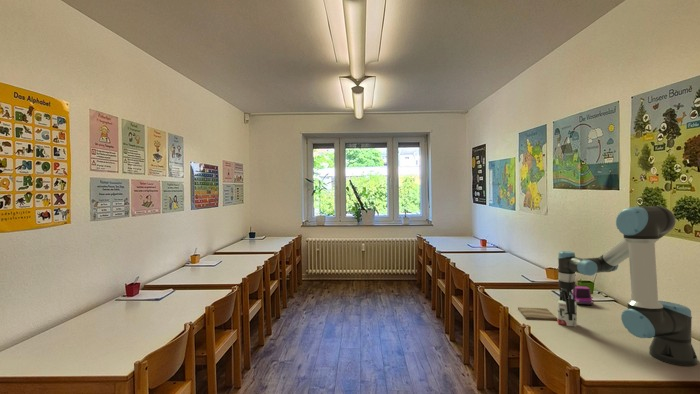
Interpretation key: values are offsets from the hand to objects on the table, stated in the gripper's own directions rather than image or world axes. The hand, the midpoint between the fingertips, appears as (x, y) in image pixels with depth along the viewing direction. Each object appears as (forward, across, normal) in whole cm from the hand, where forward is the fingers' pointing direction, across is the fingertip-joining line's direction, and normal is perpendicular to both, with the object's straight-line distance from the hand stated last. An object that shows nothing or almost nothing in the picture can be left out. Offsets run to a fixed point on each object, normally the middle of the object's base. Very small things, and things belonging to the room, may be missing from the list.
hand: (567, 323), depth 190 cm
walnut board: (0, +13, +11) cm, 17 cm away
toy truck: (+1, +40, -23) cm, 46 cm away
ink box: (+1, 0, 0) cm, 1 cm away
